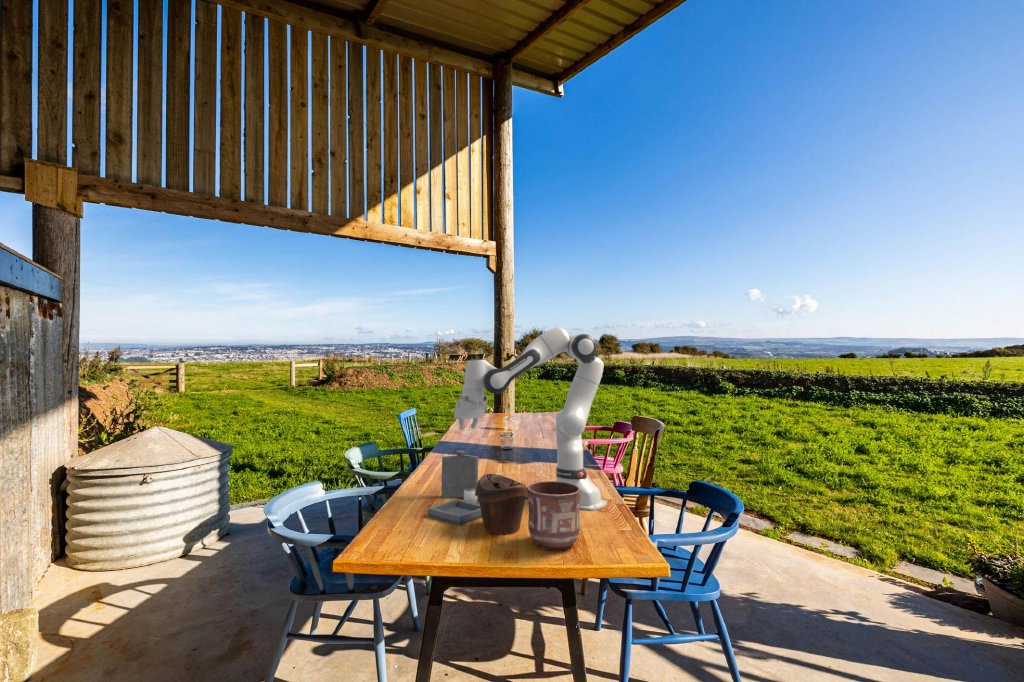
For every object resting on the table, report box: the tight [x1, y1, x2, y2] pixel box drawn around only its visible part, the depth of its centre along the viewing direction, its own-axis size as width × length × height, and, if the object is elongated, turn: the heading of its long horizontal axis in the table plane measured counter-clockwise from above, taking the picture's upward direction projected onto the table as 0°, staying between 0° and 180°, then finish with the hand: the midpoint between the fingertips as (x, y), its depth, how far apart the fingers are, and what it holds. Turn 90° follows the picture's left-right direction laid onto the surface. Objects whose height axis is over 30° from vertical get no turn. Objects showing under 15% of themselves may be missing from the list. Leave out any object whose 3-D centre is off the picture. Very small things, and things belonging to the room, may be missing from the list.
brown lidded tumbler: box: [475, 473, 528, 535], centre depth 168 cm, size 18×20×18 cm
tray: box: [427, 499, 482, 526], centre depth 182 cm, size 17×16×3 cm
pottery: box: [526, 480, 581, 551], centre depth 154 cm, size 18×18×18 cm
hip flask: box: [440, 449, 479, 499], centre depth 210 cm, size 16×4×20 cm, turn 96°
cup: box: [463, 488, 478, 504], centre depth 198 cm, size 6×6×6 cm
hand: (467, 429), depth 200 cm, fingers open, 8 cm apart
